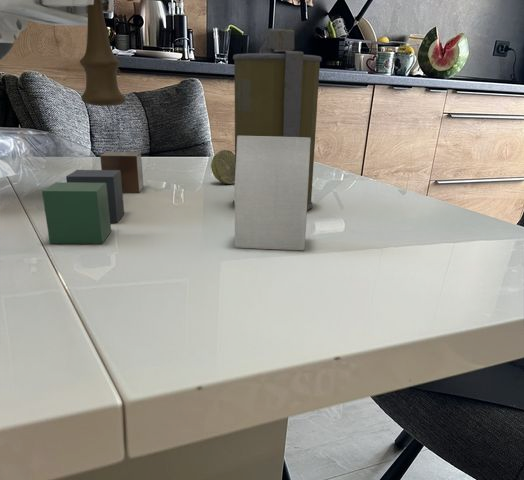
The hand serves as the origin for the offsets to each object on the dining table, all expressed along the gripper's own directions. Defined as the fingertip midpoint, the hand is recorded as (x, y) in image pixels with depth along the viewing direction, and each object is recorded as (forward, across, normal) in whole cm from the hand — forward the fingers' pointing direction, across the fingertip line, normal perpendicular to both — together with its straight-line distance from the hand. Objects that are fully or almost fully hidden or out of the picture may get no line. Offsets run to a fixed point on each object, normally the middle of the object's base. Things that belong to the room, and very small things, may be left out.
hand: (101, 0), depth 62 cm
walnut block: (-3, -9, -23) cm, 25 cm away
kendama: (-1, 0, -11) cm, 11 cm away
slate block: (+1, +9, -23) cm, 24 cm away
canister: (+20, -3, -23) cm, 30 cm away
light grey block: (+22, +16, -23) cm, 36 cm away
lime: (+10, -19, -23) cm, 31 cm away
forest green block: (+3, +18, -23) cm, 29 cm away
